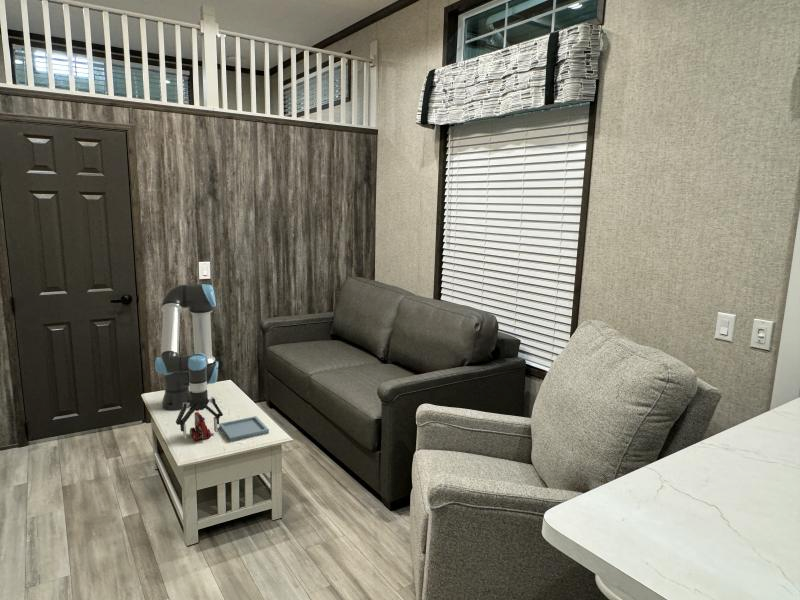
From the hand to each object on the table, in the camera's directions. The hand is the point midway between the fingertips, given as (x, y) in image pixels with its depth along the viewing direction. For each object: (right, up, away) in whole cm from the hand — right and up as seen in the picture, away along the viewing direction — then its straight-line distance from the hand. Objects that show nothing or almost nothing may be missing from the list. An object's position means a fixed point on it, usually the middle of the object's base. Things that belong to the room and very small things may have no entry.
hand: (200, 434), depth 245 cm
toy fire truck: (0, -2, 0) cm, 2 cm away
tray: (+17, 0, +8) cm, 19 cm away
